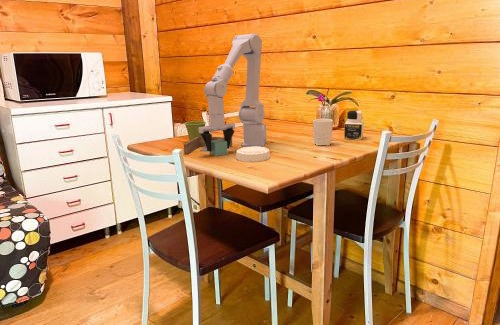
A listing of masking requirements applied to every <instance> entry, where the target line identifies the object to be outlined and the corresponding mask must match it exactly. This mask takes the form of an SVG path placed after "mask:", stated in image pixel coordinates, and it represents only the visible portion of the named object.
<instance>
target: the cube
mask: <svg viewBox="0 0 500 325" xmlns="http://www.w3.org/2000/svg"><path fill="white" fill-rule="evenodd" d="M211 148H212V150H211V152H209V154H210V155H212V156H215V157H219V156H225V155H228V154H229V153H228V149H227V141H224V140H221V139H220V140H214V141H211Z"/></svg>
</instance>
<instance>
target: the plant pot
mask: <svg viewBox="0 0 500 325" xmlns="http://www.w3.org/2000/svg"><path fill="white" fill-rule="evenodd" d="M206 124H207V122H206V121H205V120H204V121H202V120H195V121H187V122H184V124H183V125H185V128H186V132H187V136H188V141H190V140H192V139H194V138H196V137H202V136H201V134H200V133H199V127H205V126H206Z"/></svg>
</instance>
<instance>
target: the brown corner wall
mask: <svg viewBox="0 0 500 325" xmlns="http://www.w3.org/2000/svg"><path fill="white" fill-rule="evenodd" d="M220 139H221V140H224V136H212V138H211V141H214V140H220ZM200 147H203V148H204V147H206V144H205V142H204V140H203V138H202V137H196V138H194V139H192V140H190V141H189V140H188V141H187V142H185V143H183V151H184V152H183V154H184V155H189V154H190V153H192V152H193V151H195V150H197V149H198V148H200ZM229 148H233V137H232V138H231V141H230V146H229Z"/></svg>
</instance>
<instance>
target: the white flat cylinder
mask: <svg viewBox="0 0 500 325" xmlns="http://www.w3.org/2000/svg"><path fill="white" fill-rule="evenodd" d="M235 153H236V160H238V161H240V162H245V163H259V162H264V161H268V160H269V159H270V158H271V155H270V149H269V148H267V147H264V146H242V147H241V148H238V149H237V150H236V152H235Z"/></svg>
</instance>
